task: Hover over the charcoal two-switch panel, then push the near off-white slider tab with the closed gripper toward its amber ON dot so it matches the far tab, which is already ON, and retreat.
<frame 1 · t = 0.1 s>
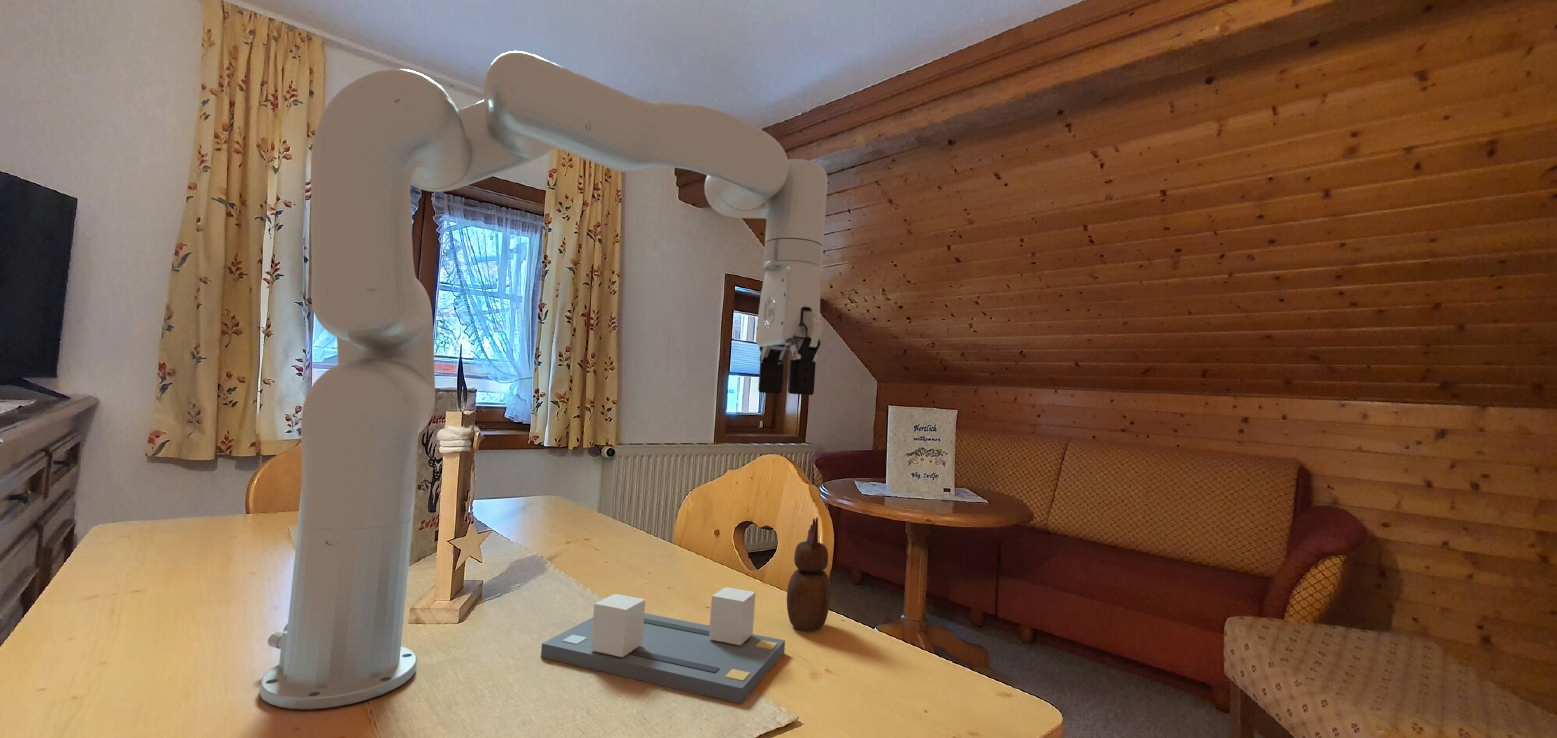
hand: (784, 393, 80), 31 cm above the table, tool pointing down, fingers open, 9 cm apart
tab near: (618, 624, 70), point 4 cm above the table, slide at 0.0 cm
switch panel: (667, 654, 73), on the table
tab far: (732, 615, 75), point 4 cm above the table, slide at 10.0 cm
wooden figurine: (806, 628, 85), on the table
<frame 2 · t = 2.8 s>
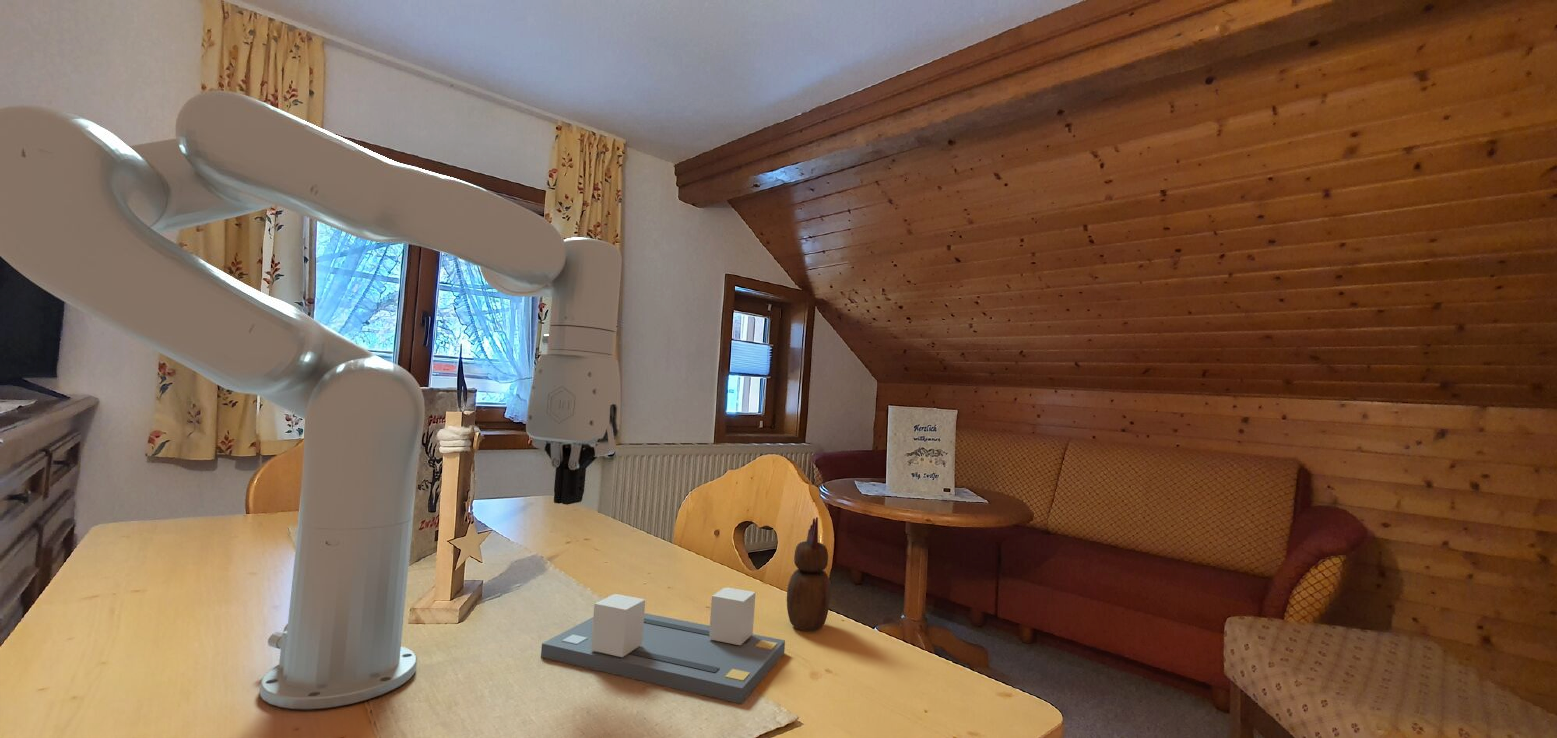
hand: (568, 502, 73), 17 cm above the table, tool pointing down, fingers closed
nothing on the table moved.
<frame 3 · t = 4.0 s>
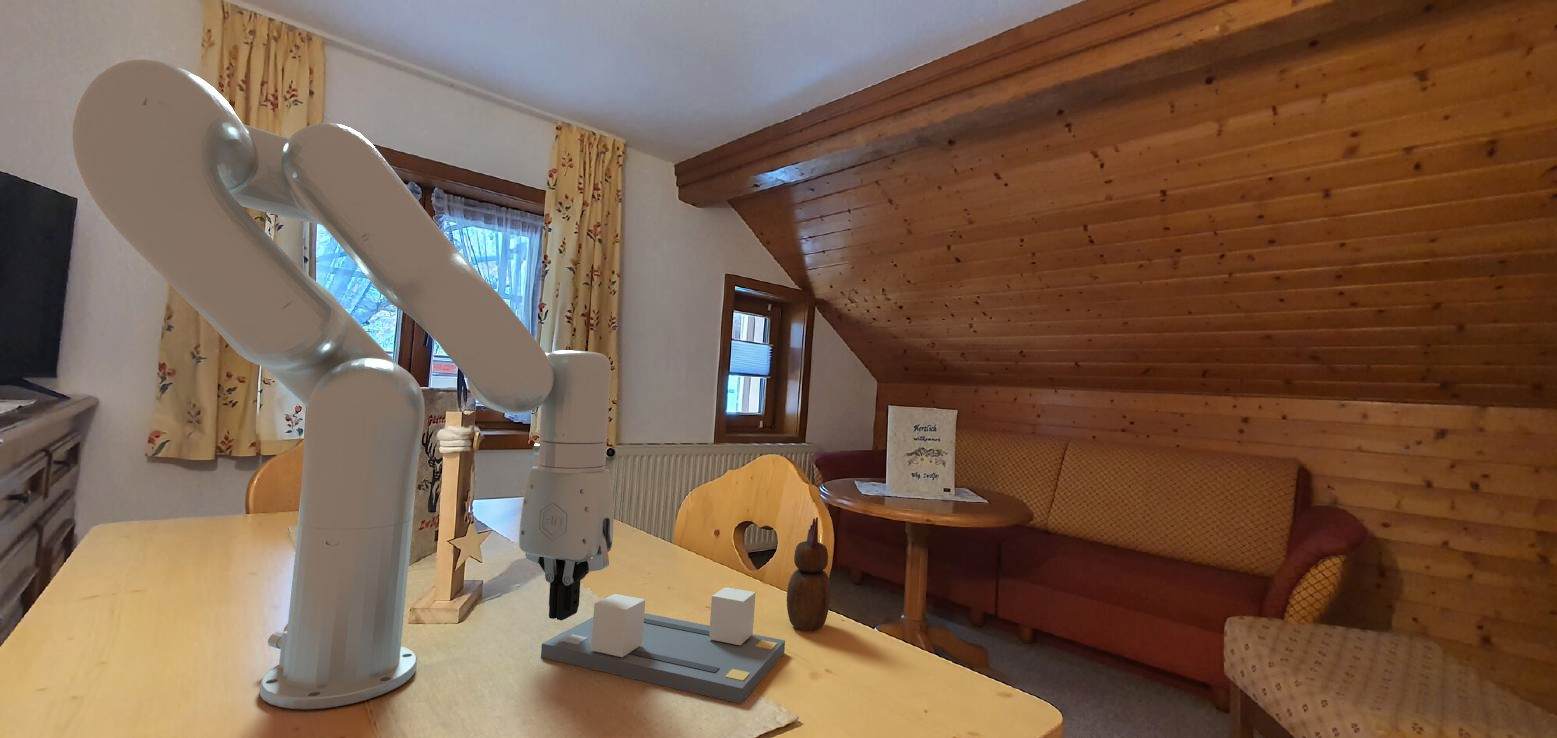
hand: (563, 615, 73), 4 cm above the table, tool pointing down, fingers closed
nothing on the table moved.
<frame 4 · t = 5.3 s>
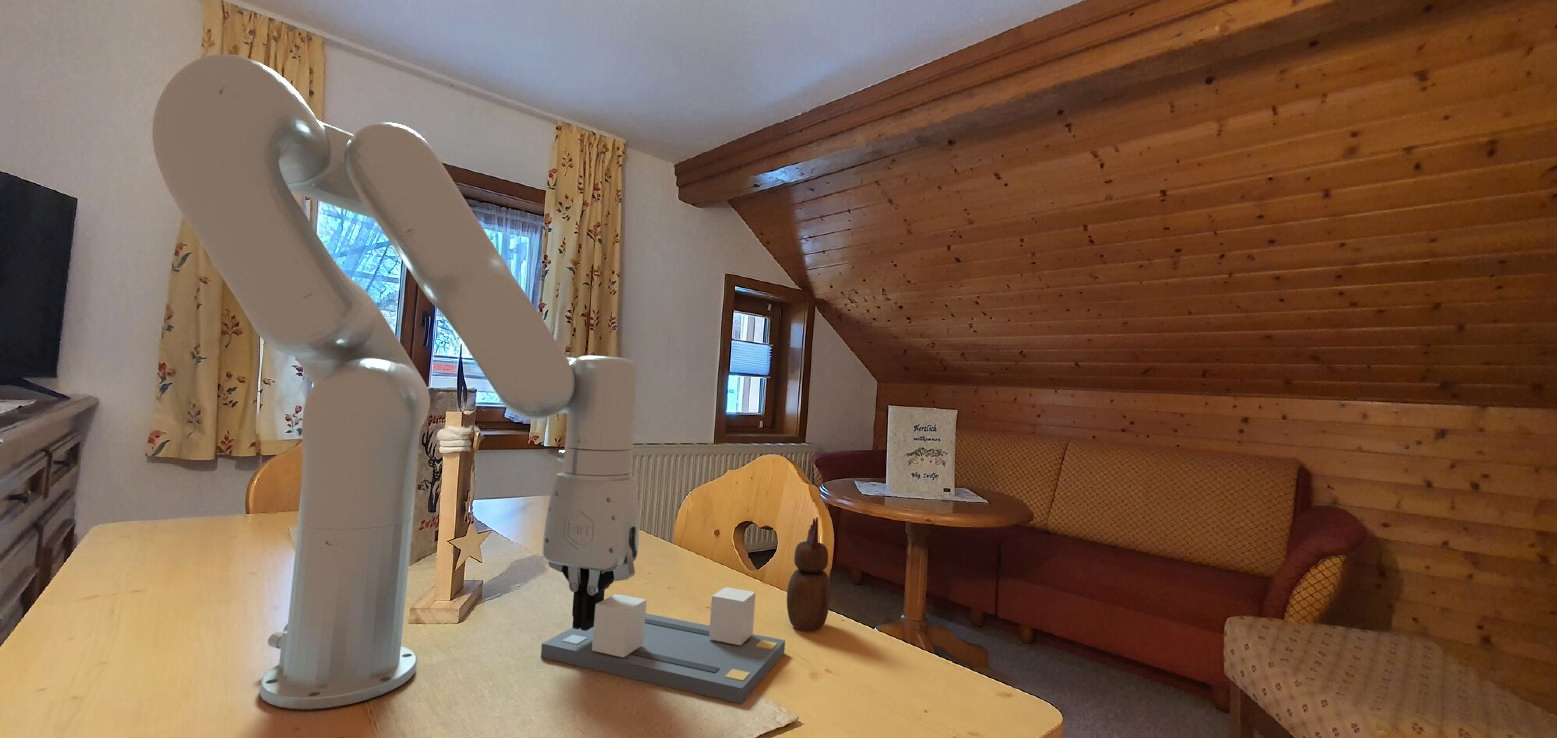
hand: (586, 625, 71), 3 cm above the table, tool pointing down, fingers closed
tab near: (619, 624, 70), point 4 cm above the table, slide at 0.2 cm, touching gripper
everything else where it was.
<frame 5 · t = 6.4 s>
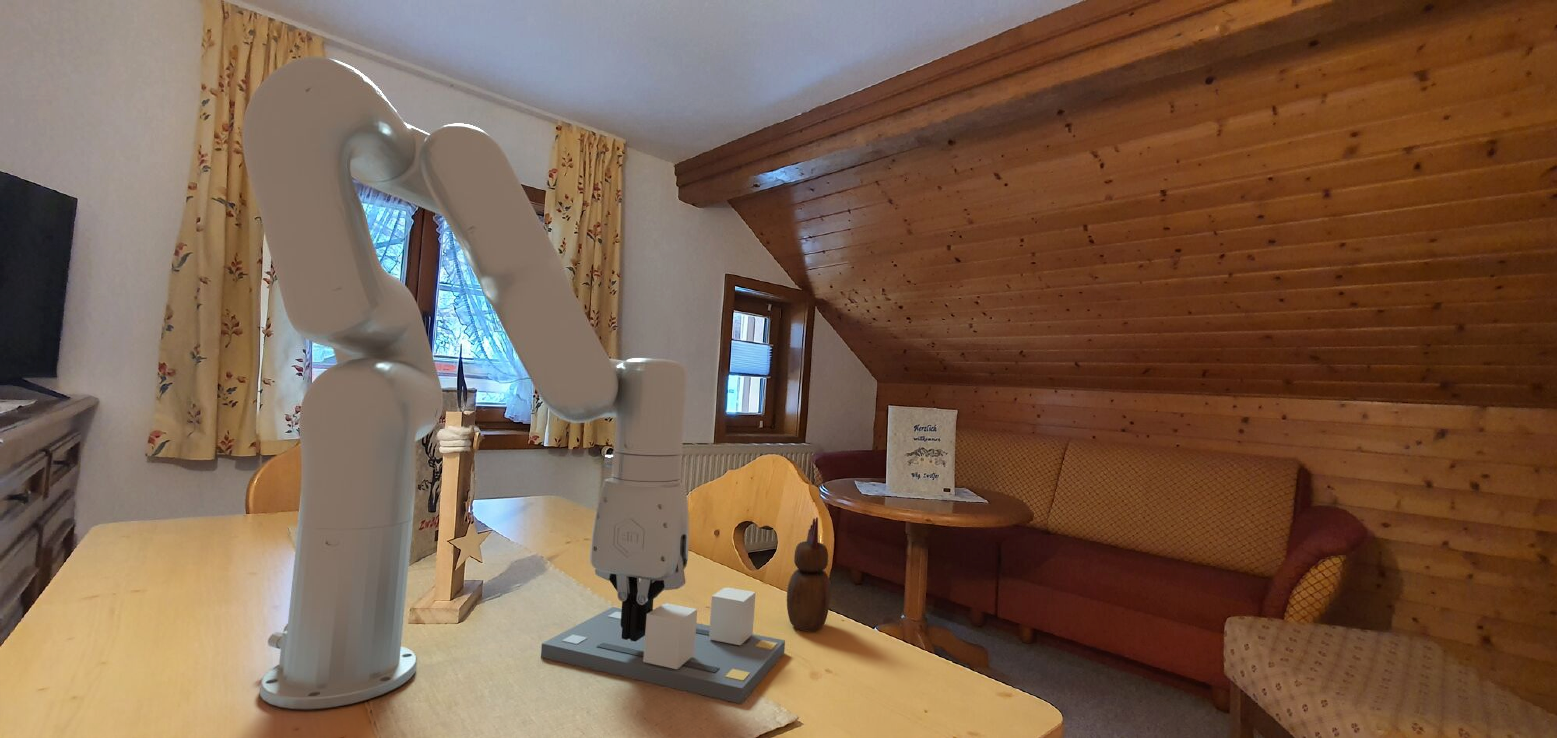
hand: (635, 635, 69), 3 cm above the table, tool pointing down, fingers closed
tab near: (670, 634, 68), point 4 cm above the table, slide at 6.5 cm, touching gripper
everything else where it was.
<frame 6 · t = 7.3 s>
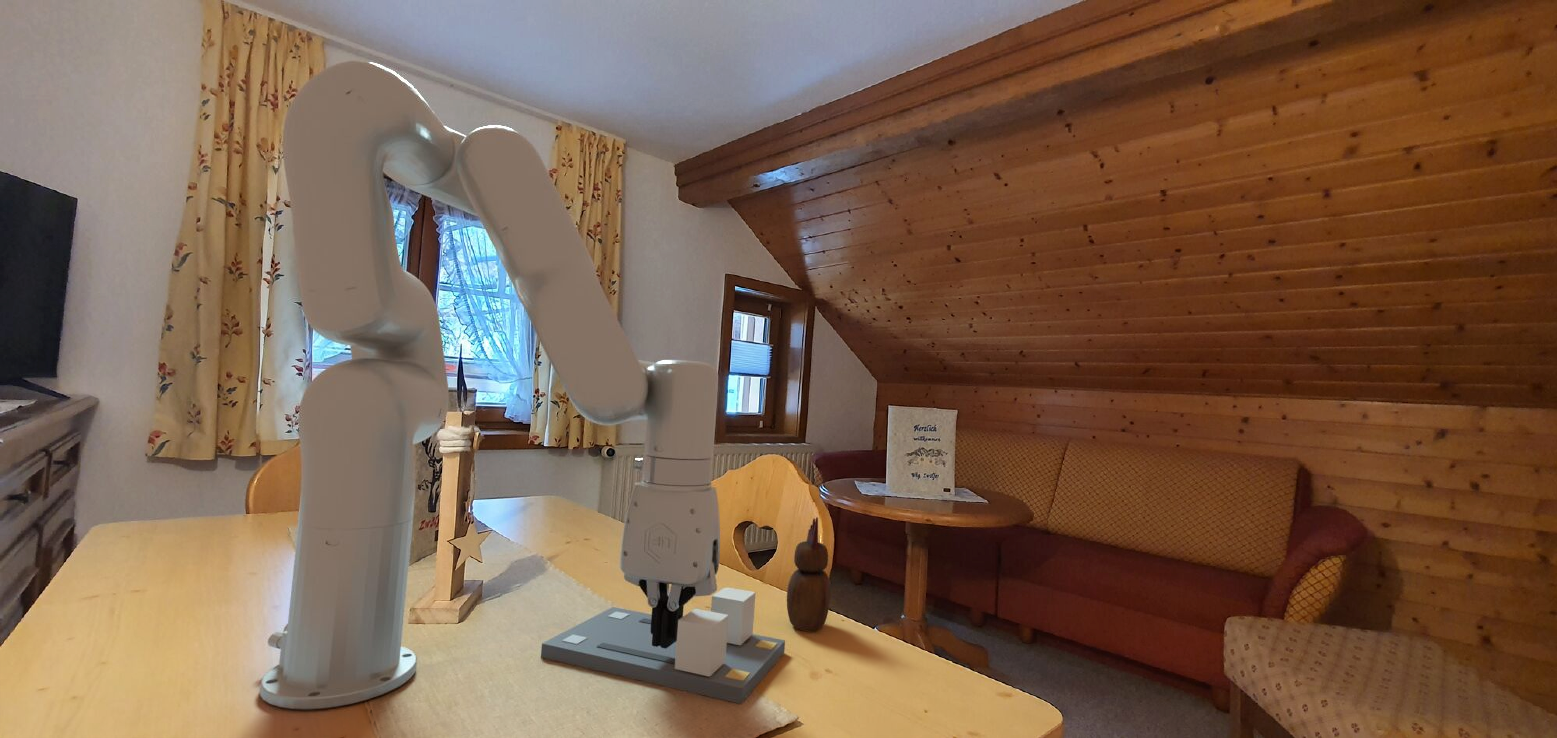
hand: (665, 642, 68), 3 cm above the table, tool pointing down, fingers closed
tab near: (702, 641, 67), point 4 cm above the table, slide at 10.2 cm, touching gripper
everything else where it was.
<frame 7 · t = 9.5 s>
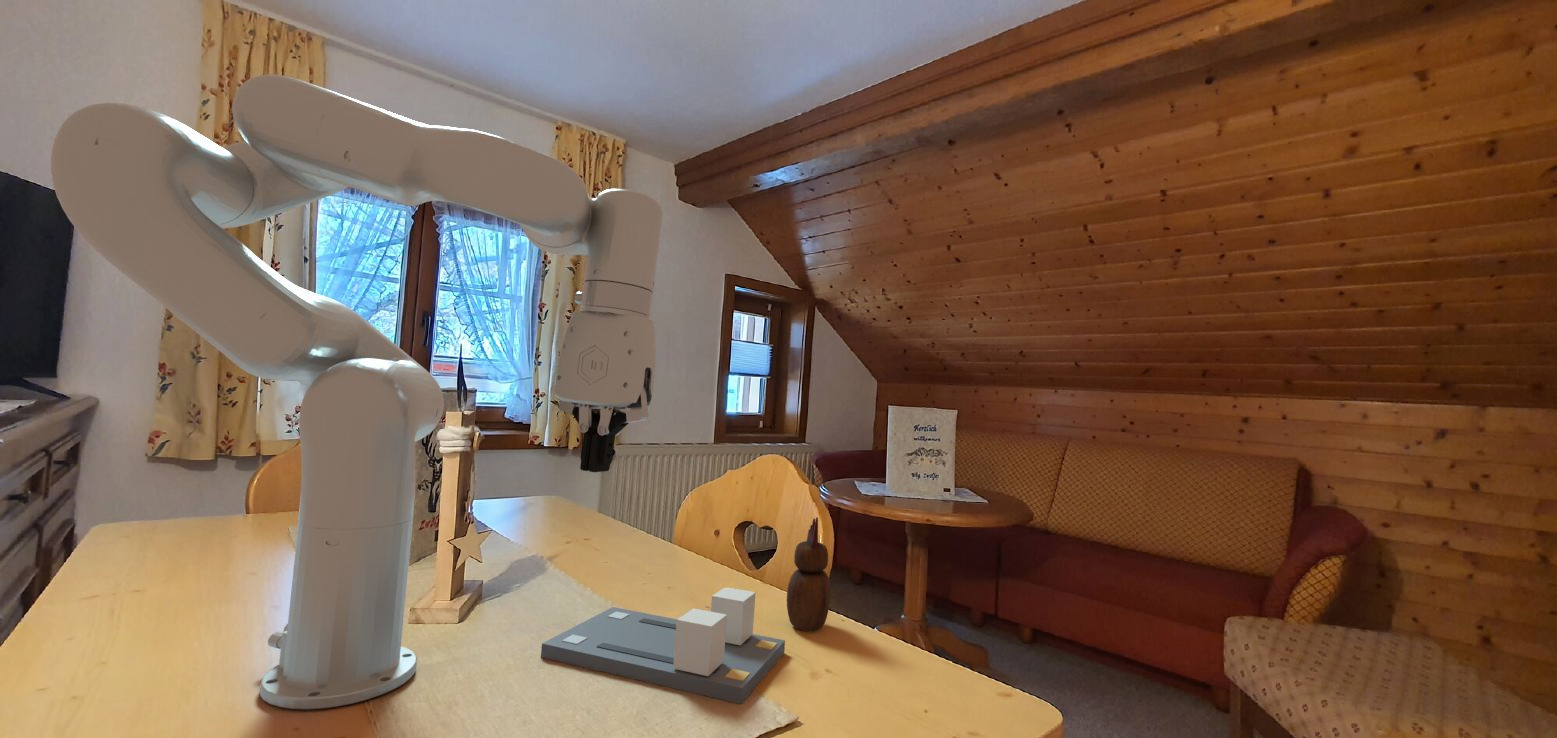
hand: (594, 470, 69), 21 cm above the table, tool pointing down, fingers closed
tab near: (700, 640, 67), point 4 cm above the table, slide at 10.1 cm
everything else where it was.
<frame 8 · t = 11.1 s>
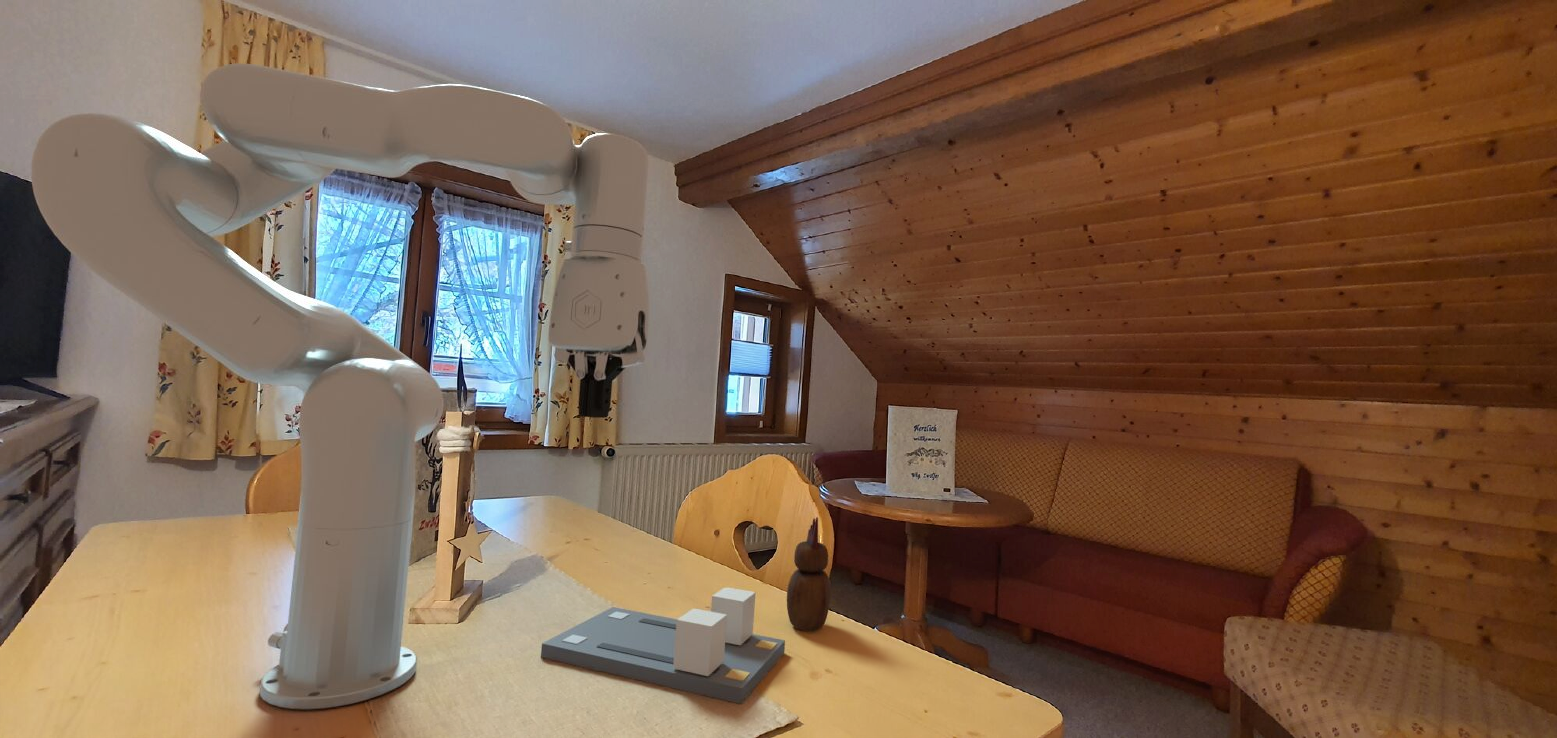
hand: (593, 416, 69), 27 cm above the table, tool pointing down, fingers closed
nothing on the table moved.
at the end: tab near slide at 10.1 cm; tab far slide at 10.0 cm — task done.
